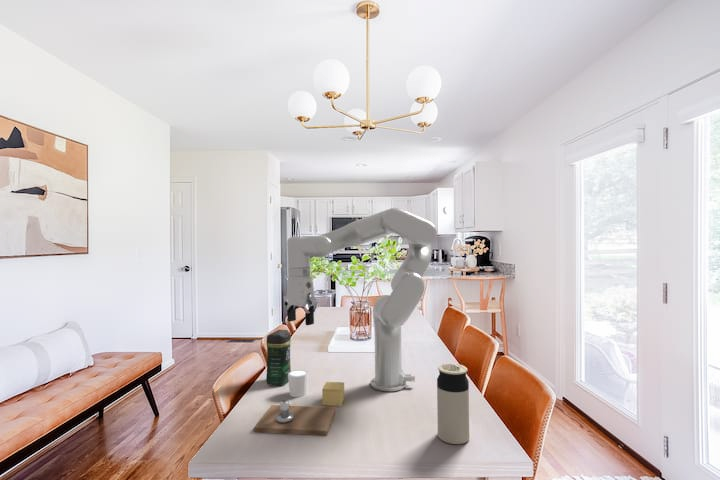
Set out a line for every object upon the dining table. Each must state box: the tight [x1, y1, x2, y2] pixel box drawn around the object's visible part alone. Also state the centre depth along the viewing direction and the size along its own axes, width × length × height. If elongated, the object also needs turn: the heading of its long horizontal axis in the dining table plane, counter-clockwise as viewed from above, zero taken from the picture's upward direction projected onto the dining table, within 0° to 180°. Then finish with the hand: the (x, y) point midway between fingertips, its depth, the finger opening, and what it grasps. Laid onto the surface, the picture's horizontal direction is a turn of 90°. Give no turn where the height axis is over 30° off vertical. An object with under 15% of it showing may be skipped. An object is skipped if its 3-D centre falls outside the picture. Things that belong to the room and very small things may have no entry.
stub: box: [276, 399, 293, 424], centre depth 105 cm, size 5×5×5 cm
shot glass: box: [288, 369, 309, 398], centre depth 126 cm, size 7×7×7 cm
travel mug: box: [436, 362, 470, 445], centre depth 97 cm, size 8×8×18 cm
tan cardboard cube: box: [321, 381, 345, 407], centre depth 120 cm, size 6×6×5 cm
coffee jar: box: [265, 329, 292, 387], centre depth 138 cm, size 10×8×19 cm
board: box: [253, 404, 337, 436], centre depth 107 cm, size 20×14×1 cm
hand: (300, 322), depth 128 cm, fingers open, 9 cm apart
